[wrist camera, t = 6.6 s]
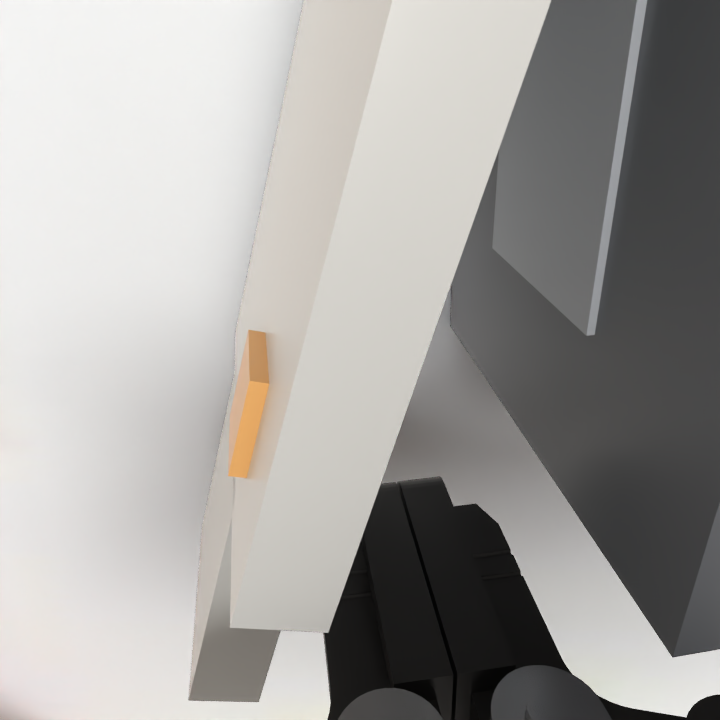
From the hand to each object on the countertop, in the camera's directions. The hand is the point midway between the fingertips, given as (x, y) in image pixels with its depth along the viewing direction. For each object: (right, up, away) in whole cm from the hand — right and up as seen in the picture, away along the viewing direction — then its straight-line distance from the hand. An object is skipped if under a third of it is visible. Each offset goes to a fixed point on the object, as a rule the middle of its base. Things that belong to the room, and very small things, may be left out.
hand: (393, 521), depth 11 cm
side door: (-2, +6, 0) cm, 6 cm away
